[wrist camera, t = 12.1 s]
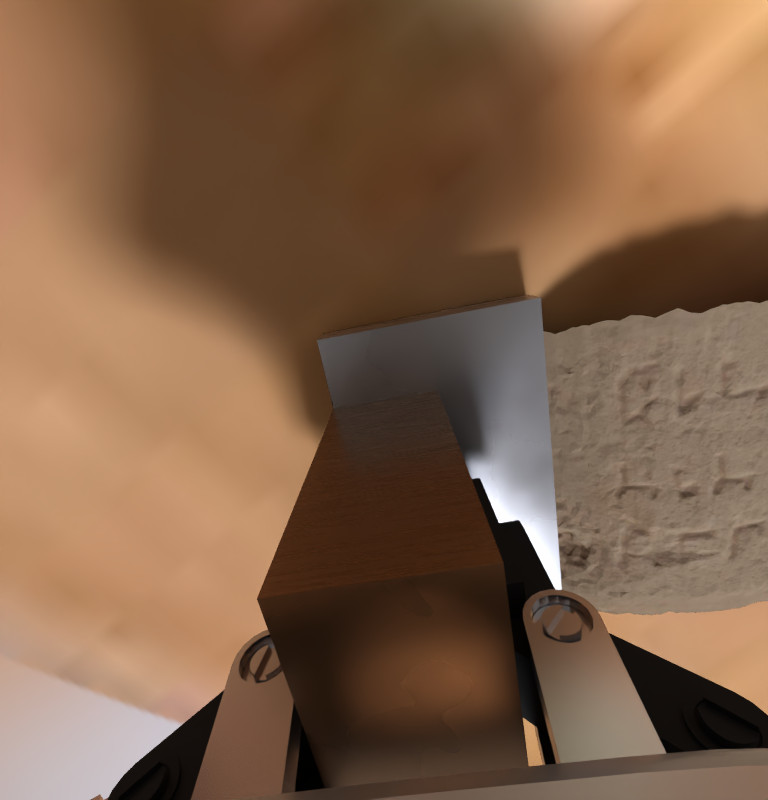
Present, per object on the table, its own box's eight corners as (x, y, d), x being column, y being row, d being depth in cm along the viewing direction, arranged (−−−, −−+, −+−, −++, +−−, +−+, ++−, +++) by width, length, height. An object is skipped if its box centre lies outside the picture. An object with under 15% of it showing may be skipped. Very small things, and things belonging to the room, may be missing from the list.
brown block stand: (323, 333, 12) (203, 452, 4) (526, 294, 12) (793, 349, 4) (395, 638, 16) (400, 999, 8) (552, 617, 15) (719, 978, 8)
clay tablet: (948, 209, 11) (1108, 192, 9) (909, 509, 14) (1021, 562, 12) (447, 346, 13) (461, 365, 10) (505, 593, 16) (528, 655, 13)
